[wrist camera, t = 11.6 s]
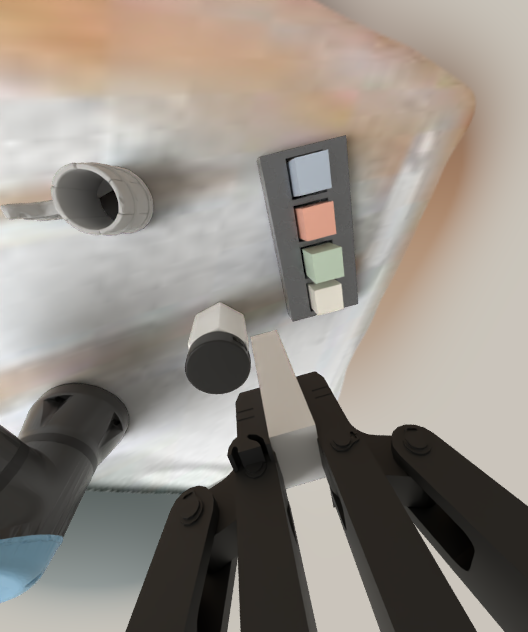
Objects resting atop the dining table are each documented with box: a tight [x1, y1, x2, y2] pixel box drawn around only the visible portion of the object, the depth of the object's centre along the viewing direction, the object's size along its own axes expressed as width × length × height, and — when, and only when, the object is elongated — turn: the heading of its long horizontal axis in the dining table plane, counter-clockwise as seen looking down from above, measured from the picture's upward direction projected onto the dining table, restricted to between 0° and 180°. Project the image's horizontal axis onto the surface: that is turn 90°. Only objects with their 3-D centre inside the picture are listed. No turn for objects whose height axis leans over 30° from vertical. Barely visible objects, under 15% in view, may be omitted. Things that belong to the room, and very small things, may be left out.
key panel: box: [257, 135, 358, 321], centre depth 37 cm, size 11×23×3 cm, turn 13°
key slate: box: [286, 150, 332, 197], centre depth 32 cm, size 4×4×4 cm
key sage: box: [302, 242, 344, 284], centre depth 35 cm, size 4×4×4 cm
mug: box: [0, 163, 153, 236], centre depth 27 cm, size 8×12×12 cm, turn 99°
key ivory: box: [306, 279, 344, 316], centre depth 39 cm, size 4×4×4 cm
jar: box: [185, 302, 251, 394], centre depth 37 cm, size 9×8×12 cm
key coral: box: [294, 201, 336, 241], centre depth 34 cm, size 4×4×4 cm
